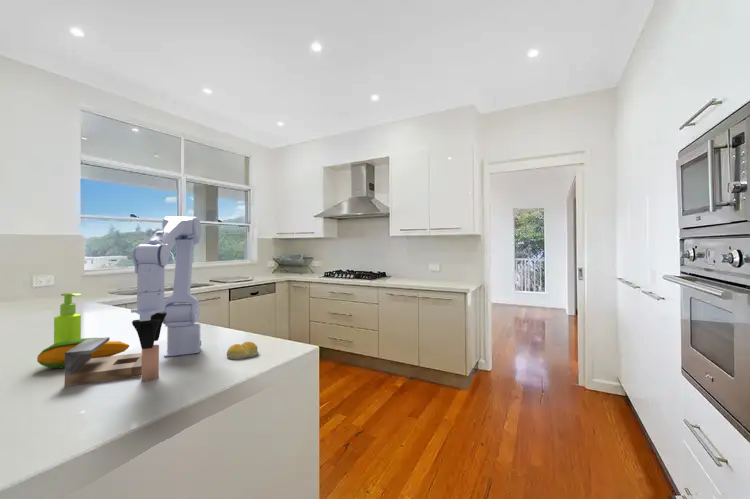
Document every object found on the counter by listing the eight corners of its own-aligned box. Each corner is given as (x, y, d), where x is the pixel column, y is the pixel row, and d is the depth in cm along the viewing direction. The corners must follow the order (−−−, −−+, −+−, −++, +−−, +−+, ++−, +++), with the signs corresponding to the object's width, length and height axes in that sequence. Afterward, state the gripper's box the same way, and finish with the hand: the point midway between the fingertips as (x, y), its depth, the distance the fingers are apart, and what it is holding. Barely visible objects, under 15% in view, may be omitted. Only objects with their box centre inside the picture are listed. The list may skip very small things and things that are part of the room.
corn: (41, 339, 90) (130, 329, 102) (41, 366, 90) (129, 353, 102) (34, 347, 84) (129, 335, 96) (34, 375, 85) (129, 360, 96)
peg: (159, 374, 84) (160, 344, 84) (157, 379, 80) (157, 347, 81) (143, 377, 82) (143, 345, 82) (140, 382, 79) (140, 349, 79)
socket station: (151, 360, 95) (151, 333, 96) (140, 375, 83) (141, 344, 83) (86, 368, 89) (86, 339, 89) (64, 386, 76) (64, 352, 76)
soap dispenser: (66, 362, 94) (67, 294, 94) (48, 361, 95) (49, 293, 95) (88, 356, 99) (88, 292, 100) (70, 355, 101) (71, 291, 101)
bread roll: (224, 355, 101) (224, 342, 101) (253, 350, 106) (253, 338, 106) (229, 362, 94) (229, 348, 94) (260, 356, 99) (261, 343, 99)
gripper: (138, 289, 86) (137, 339, 86) (123, 295, 73) (123, 354, 73) (169, 288, 90) (168, 336, 89) (160, 293, 76) (159, 350, 76)
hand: (150, 344), depth 81 cm, fingers open, 7 cm apart
